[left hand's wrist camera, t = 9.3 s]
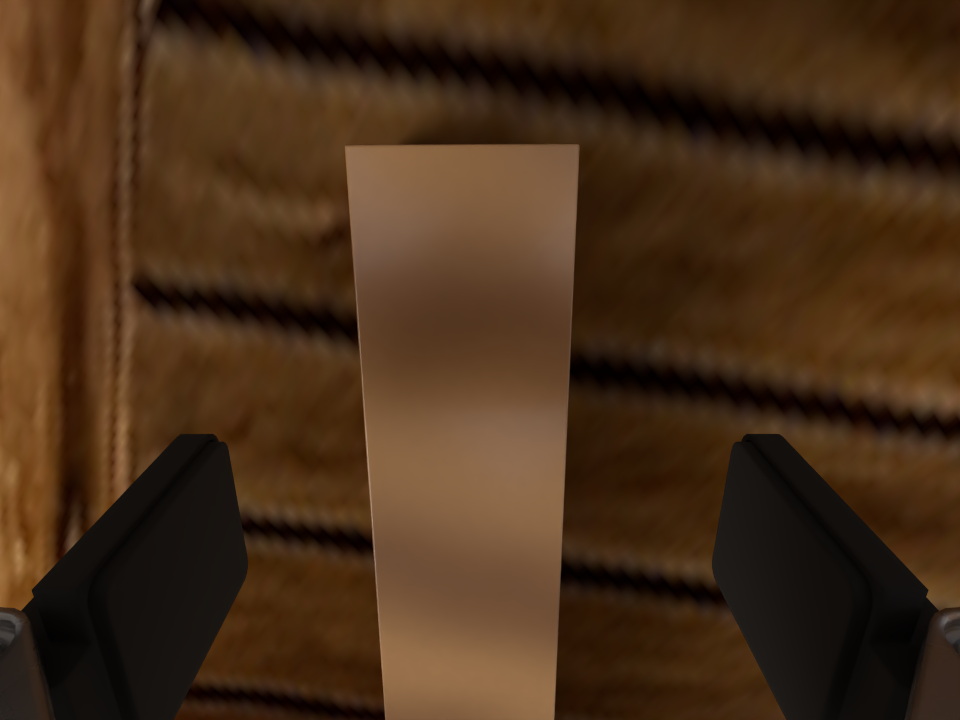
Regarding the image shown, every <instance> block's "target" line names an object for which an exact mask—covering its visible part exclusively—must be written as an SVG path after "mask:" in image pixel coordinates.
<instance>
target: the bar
mask: <svg viewBox="0 0 960 720" xmlns="http://www.w3.org/2000/svg"><path fill="white" fill-rule="evenodd" d="M579 149H580V146H579V144H422V145H346V146H345V156H346V171H347V185H348V199H349V213H350V227H351V241H352V255H353V269H354V284H355V298H356V312H357V326H358V340H359V354H360V368H361V382H362V397H363V411H364V425H365V439H366V453H367V467H368V481H369V496H370V510H371V524H372V538H373V552H374V566H375V580H376V594H377V609H378V623H379V637H380V651H381V665H382V679H383V693H384V708H385V720H554V716H555V693H556V670H557V648H558V625H559V602H560V580H561V557H562V535H563V512H564V489H565V467H566V444H567V421H568V399H569V376H570V353H571V331H572V308H573V285H574V263H575V240H576V217H577V195H578V172H579Z"/></svg>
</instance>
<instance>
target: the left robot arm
mask: <svg viewBox="0 0 960 720" xmlns="http://www.w3.org/2000/svg"><path fill="white" fill-rule="evenodd" d="M247 569H248V558H247V552H246V547H245V541H244V535H243V530H242V524H241V518H240V513H239V507H238V501H237V496H236V490H235V484H234V479H233V473H232V467H231V462H230V456H229V450H228V447H227V445H226V443H225V442H219V441H218V439H217V437H216V436H215V435H214V434H180V435H179V436H178V437H177V438H176V439H175V440H174V441H173V442H172V443H171V444H170V445H169V446H168V447H167V448H166V449H165V450H164V451H163V452H162V453H161V454H160V455H159V457H158V458H157V459H156V460H155V461H154V462H153V463H152V464H151V465H150V466H149V467H148V468H147V469H146V470H145V471H144V472H143V473H142V474H141V475H140V477H139V478H138V479H137V480H136V481H135V482H134V483H133V484H132V485H131V486H130V487H129V488H128V489H127V490H126V491H125V492H124V493H123V494H122V495H121V497H120V498H119V499H118V500H117V501H116V502H115V503H114V504H113V505H112V506H111V507H110V508H109V509H108V510H107V511H106V512H105V513H104V514H103V515H102V517H101V518H100V519H99V520H98V521H97V522H96V523H95V524H94V525H93V526H92V527H91V528H90V529H89V530H88V531H87V532H86V533H85V534H84V535H83V537H82V538H81V539H80V540H79V541H78V542H77V543H76V544H75V545H74V546H73V547H72V548H71V549H70V550H69V551H68V552H67V553H66V554H65V555H64V557H63V558H62V559H61V560H60V561H59V562H58V563H57V564H56V565H55V566H54V567H53V568H52V569H51V570H50V571H49V572H48V573H47V574H46V575H45V577H44V578H43V579H42V580H41V581H40V582H39V583H38V584H37V585H36V586H35V587H34V588H33V589H32V593H33V596H34V598H33V599H32V600H31V601H30V602H29V603H28V604H27V605H26V606H25V607H24V608H23V609H22V611H19V610H17V609H15V608H4V607H0V720H174V718H175V716H176V714H177V712H178V710H179V708H180V706H181V704H182V702H183V700H184V698H185V696H186V694H187V692H188V690H189V688H190V686H191V684H192V683H193V681H194V679H195V677H196V675H197V673H198V671H199V669H200V667H201V665H202V663H203V661H204V659H205V657H206V655H207V653H208V651H209V649H210V647H211V645H212V643H213V641H214V639H215V637H216V635H217V633H218V631H219V630H220V628H221V626H222V624H223V622H224V620H225V618H226V616H227V614H228V612H229V610H230V608H231V606H232V604H233V602H234V600H235V598H236V596H237V594H238V592H239V590H240V588H241V586H242V584H243V582H244V580H245V578H246V574H247ZM712 569H713V574H714V578H715V580H716V582H717V584H718V586H719V588H720V590H721V592H722V594H723V596H724V598H725V600H726V602H727V604H728V606H729V608H730V610H731V612H732V614H733V616H734V618H735V620H736V622H737V624H738V626H739V628H740V630H741V631H742V633H743V635H744V637H745V639H746V641H747V643H748V645H749V647H750V649H751V651H752V653H753V655H754V657H755V659H756V661H757V663H758V665H759V667H760V669H761V671H762V673H763V675H764V677H765V679H766V681H767V683H768V684H769V686H770V688H771V690H772V692H773V694H774V696H775V698H776V700H777V702H778V704H779V706H780V708H781V710H782V712H783V714H784V716H785V718H786V720H960V607H956V608H945V609H943V610H941V611H938V609H937V608H936V607H935V606H934V605H933V604H932V603H931V602H930V601H929V600H928V599H927V598H926V596H927V593H928V589H927V588H926V587H925V586H924V585H923V584H922V583H921V582H920V581H919V580H918V579H917V578H916V577H915V575H914V574H913V573H912V572H911V571H910V570H909V569H908V568H907V567H906V566H905V565H904V564H903V563H902V562H901V561H900V560H899V559H898V558H897V557H896V555H895V554H894V553H893V552H892V551H891V550H890V549H889V548H888V547H887V546H886V545H885V544H884V543H883V542H882V541H881V540H880V539H879V538H878V537H877V535H876V534H875V533H874V532H873V531H872V530H871V529H870V528H869V527H868V526H867V525H866V524H865V523H864V522H863V521H862V520H861V519H860V518H859V517H858V515H857V514H856V513H855V512H854V511H853V510H852V509H851V508H850V507H849V506H848V505H847V504H846V503H845V502H844V501H843V500H842V499H841V498H840V497H839V495H838V494H837V493H836V492H835V491H834V490H833V489H832V488H831V487H830V486H829V485H828V484H827V483H826V482H825V481H824V480H823V479H822V478H821V477H820V475H819V474H818V473H817V472H816V471H815V470H814V469H813V468H812V467H811V466H810V465H809V464H808V463H807V462H806V461H805V460H804V459H803V458H802V457H801V455H800V454H799V453H798V452H797V451H796V450H795V449H794V448H793V447H792V446H791V445H790V444H789V443H788V442H787V441H786V440H785V439H784V438H783V437H782V436H781V435H780V434H746V435H745V436H744V437H743V439H742V441H741V442H735V443H734V445H733V447H732V450H731V456H730V462H729V467H728V473H727V479H726V484H725V490H724V496H723V501H722V507H721V513H720V518H719V524H718V530H717V535H716V541H715V547H714V552H713V558H712Z"/></svg>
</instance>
